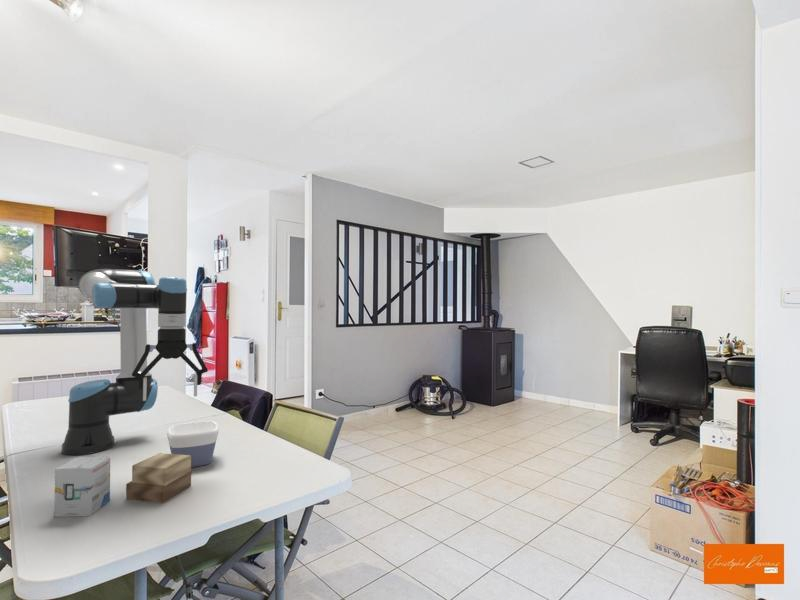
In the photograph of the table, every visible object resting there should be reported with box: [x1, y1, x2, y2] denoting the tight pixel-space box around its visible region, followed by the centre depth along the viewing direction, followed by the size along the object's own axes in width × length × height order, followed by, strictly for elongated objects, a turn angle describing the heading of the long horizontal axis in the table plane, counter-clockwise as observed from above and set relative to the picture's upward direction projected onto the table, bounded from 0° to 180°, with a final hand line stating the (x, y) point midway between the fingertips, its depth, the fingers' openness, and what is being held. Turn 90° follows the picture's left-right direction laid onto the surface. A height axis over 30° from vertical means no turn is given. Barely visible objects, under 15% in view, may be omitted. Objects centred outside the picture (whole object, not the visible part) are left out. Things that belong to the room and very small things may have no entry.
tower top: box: [131, 452, 192, 486], centre depth 117 cm, size 10×10×4 cm
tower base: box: [125, 470, 192, 504], centre depth 116 cm, size 11×11×4 cm
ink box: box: [53, 456, 111, 518], centre depth 107 cm, size 9×8×12 cm
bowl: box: [166, 420, 220, 468], centre depth 139 cm, size 15×15×11 cm
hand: (170, 397), depth 129 cm, fingers open, 13 cm apart
